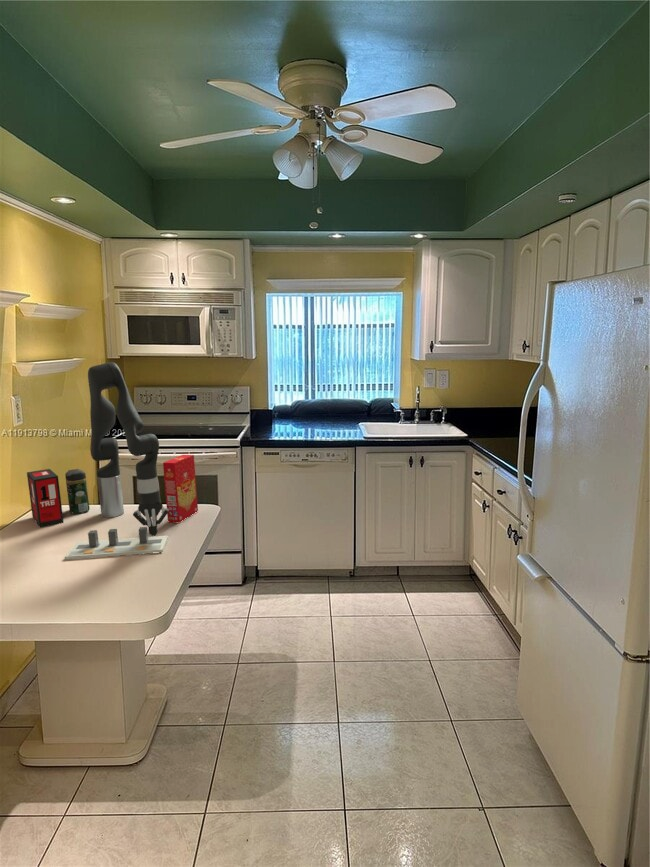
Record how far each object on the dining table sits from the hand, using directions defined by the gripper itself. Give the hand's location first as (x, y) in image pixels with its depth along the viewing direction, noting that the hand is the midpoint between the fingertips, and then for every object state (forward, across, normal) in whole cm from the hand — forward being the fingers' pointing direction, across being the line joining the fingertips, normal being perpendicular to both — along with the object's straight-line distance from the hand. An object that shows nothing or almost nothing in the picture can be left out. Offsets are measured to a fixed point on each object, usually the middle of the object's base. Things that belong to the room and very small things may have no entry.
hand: (153, 535), depth 208 cm
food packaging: (+4, -7, -30) cm, 31 cm away
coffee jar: (+3, +40, -48) cm, 63 cm away
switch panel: (+3, +12, +2) cm, 13 cm away
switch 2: (+2, +4, 0) cm, 4 cm away
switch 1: (+2, +21, 0) cm, 21 cm away
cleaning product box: (+3, +50, -38) cm, 63 cm away
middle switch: (+2, +14, 0) cm, 14 cm away
